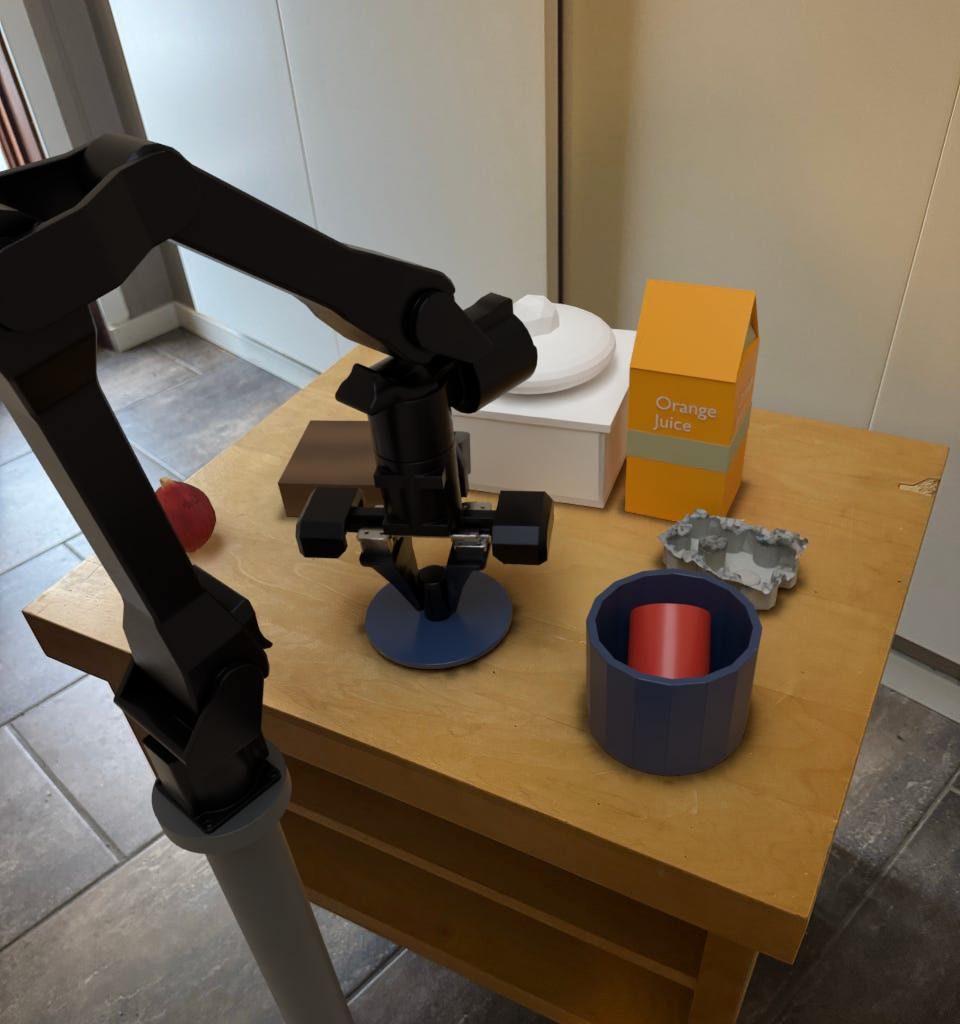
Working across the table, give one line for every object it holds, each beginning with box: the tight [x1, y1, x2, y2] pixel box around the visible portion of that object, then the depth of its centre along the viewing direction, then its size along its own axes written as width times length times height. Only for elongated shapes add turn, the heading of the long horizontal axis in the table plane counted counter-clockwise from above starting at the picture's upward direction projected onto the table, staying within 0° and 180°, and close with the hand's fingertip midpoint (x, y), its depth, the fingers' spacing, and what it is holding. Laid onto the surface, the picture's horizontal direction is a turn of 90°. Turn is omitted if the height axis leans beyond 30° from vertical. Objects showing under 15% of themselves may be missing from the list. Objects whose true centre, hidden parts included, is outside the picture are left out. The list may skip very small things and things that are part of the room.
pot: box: [585, 568, 763, 777], centre depth 67 cm, size 11×11×9 cm
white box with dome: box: [451, 293, 637, 509], centre depth 91 cm, size 18×18×16 cm
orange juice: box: [624, 278, 761, 523], centre depth 82 cm, size 8×9×20 cm
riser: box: [277, 419, 383, 518], centre depth 93 cm, size 11×10×4 cm
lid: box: [364, 564, 514, 670], centre depth 77 cm, size 12×12×5 cm
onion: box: [155, 476, 217, 554], centre depth 86 cm, size 6×6×8 cm
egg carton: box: [656, 508, 809, 611], centre depth 79 cm, size 11×8×4 cm
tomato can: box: [627, 603, 711, 679], centre depth 67 cm, size 6×6×7 cm
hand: (437, 608), depth 78 cm, fingers closed on lid, 2 cm apart
